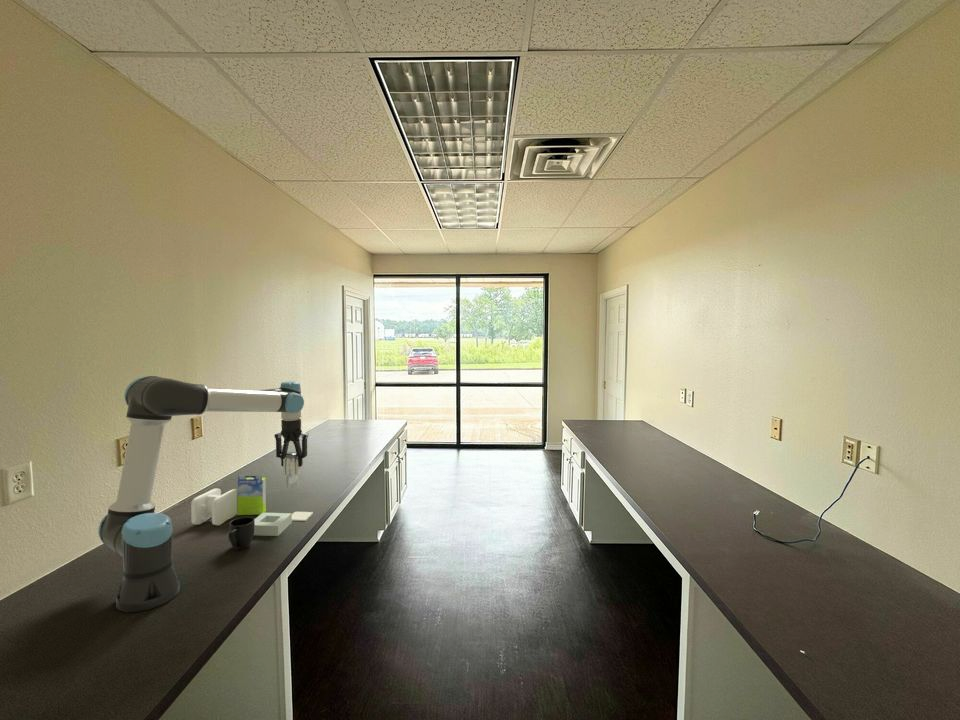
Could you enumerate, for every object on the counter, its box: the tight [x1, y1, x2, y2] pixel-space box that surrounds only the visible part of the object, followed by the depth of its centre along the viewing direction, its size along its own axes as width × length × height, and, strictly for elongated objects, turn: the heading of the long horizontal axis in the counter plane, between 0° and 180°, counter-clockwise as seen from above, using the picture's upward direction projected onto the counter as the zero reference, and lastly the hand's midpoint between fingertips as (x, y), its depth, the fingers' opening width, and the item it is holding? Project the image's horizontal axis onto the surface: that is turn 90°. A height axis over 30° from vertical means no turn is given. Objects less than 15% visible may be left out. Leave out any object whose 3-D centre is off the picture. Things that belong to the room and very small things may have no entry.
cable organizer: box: [190, 488, 238, 526], centre depth 184 cm, size 15×11×12 cm
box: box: [237, 475, 267, 516], centre depth 192 cm, size 10×4×17 cm, turn 97°
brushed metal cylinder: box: [285, 451, 299, 489], centre depth 185 cm, size 5×5×14 cm
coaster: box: [292, 511, 314, 522], centre depth 190 cm, size 8×8×1 cm
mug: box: [228, 516, 255, 551], centre depth 161 cm, size 8×12×10 cm
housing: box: [253, 512, 293, 537], centre depth 178 cm, size 12×12×4 cm
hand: (292, 473), depth 185 cm, fingers closed on brushed metal cylinder, 5 cm apart
